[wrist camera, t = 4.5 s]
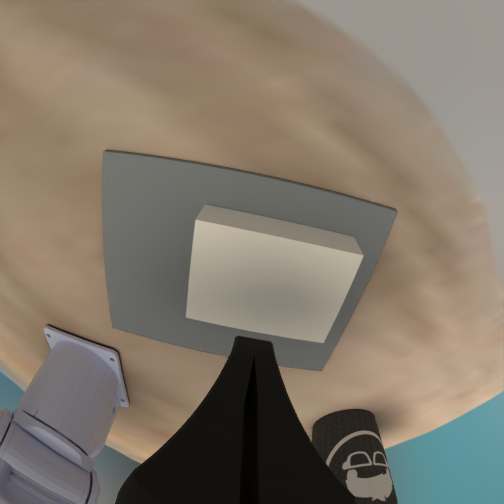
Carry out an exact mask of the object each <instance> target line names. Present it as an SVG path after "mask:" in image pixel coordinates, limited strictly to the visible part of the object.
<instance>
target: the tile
mask: <svg viewBox="0 0 504 504" xmlns="http://www.w3.org/2000/svg"><path fill="white" fill-rule="evenodd" d="M363 256H364V255H363V253H362V251H361V249H360V247H359V245H358V243H357V241H356V239H355V237H352V236H348V235H344V234H340V233H336V232H332V231H327V230H323V229H319V228H314V227H310V226H306V225H301V224H297V223H292V222H288V221H283V220H279V219H274V218H269V217H265V216H260V215H255V214H250V213H246V212H241V211H236V210H231V209H226V208H221V207H216V206H211V205H206V204H205V205H204V207H203V208H202V210H201V211H200V213H199V215H198V216H197V218H196V220H195V228H194V236H193V245H192V254H191V264H190V274H189V285H188V296H187V308H186V318H190V319H195V320H199V321H204V322H208V323H213V324H217V325H222V326H227V327H232V328H237V329H242V330H247V331H252V332H258V333H263V334H269V335H275V336H280V337H286V338H293V339H299V340H305V341H312V342H319V343H324V341H325V339H326V337H327V335H328V333H329V331H330V329H331V327H332V325H333V323H334V321H335V319H336V317H337V315H338V313H339V310H340V308H341V306H342V304H343V302H344V300H345V297H346V295H347V293H348V291H349V289H350V286H351V284H352V282H353V280H354V277H355V275H356V273H357V270H358V268H359V266H360V263H361V261H362V258H363Z"/></svg>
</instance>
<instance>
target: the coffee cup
mask: <svg viewBox="0 0 504 504" xmlns="http://www.w3.org/2000/svg"><path fill="white" fill-rule="evenodd" d="M312 444H313V445H314V447H315V448H316V450H317V451H318V452H319V454H320V455H321V457H322V458H323V460H324V461H325V462H326V464H327V465H328V467H329V468H330V469H331V470H332V472H333V473H334V474H335V475H336V476H337V478H338V479H339V480H340V481H341V482H342V483H343V484H344V486H345V487H346V488H347V489H348V490H349V491H350V492H351V493H352V494H353V495H354V496H355V497H356V501H357V504H398V501H397V497H396V494H395V489H394V485H393V481H392V477H391V474H390V470H389V466H388V463H387V459H386V455H385V451H384V448H383V444H382V441H381V437H380V434H379V430H378V427H377V424H376V420H375V417H374V415H373V414H372V413H371V412H369V411H366V410H359V409H352V410H344V411H339V412H335V413H332V414H329V415H327V416H325V417H323V418H321V419H319V420H318V421H317V422H316V423H315V424H314V426H313V432H312Z"/></svg>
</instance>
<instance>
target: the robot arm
mask: <svg viewBox="0 0 504 504" xmlns="http://www.w3.org/2000/svg"><path fill="white" fill-rule="evenodd" d="M44 332H45V335H46V338H47V341H48V343H49V346H50V348H51V352H50V353H49V355H48V356H47V358H46V359H45V361H44V362H43V364H42V366H41V367H40V369H39V370H38V372H37V374H36V375H35V377H34V378H33V380H32V382H31V383H30V385H29V387H28V388H27V390H26V392H25V394H24V395H23V397H22V399H21V400H20V402H19V404H18V406H17V407H16V409H15V410H14V411H12V412H11V411H10V410H8V409H7V408H5V409H0V504H97V503H98V500H99V495H100V483H99V480H98V475H97V473H96V471H95V470H94V469H93V465H94V462H95V461H94V460H92V459H91V458H92V457H94V456H96V455H97V454H98V453H99V452H100V451H101V450H102V448H103V446H104V444H105V441H106V439H107V436H108V433H109V431H110V428H111V426H112V423H113V421H114V418H115V415H116V413H117V410H118V408H119V406H122V407H126V408H127V407H129V401H128V397H127V393H126V389H125V384H124V380H123V375H122V371H121V366H120V361H119V356H118V353H117V352H116V351H115V350H112V349H109V348H106V347H103V346H100V345H97V344H95V343H92V342H89V341H86V340H83V339H81V338H78V337H75V336H73V335H70V334H67V333H65V332H62V331H60V330H57V329H55V328H52V327H50V326H47V325H46V326H45V327H44ZM115 504H357V501H356V497H355V496H354V495H353V494H352V493H351V492H350V491H349V490H348V489H347V488H346V487H345V486H344V484H343V483H342V482H341V481H340V480H339V479H338V478H337V476H336V475H335V474H334V473H333V472H332V470H331V469H330V468H329V467H328V465H327V464H326V462H325V461H324V460H323V458H322V457H321V455H320V454H319V452H318V451H317V450H316V448H315V447H314V445H313V444H312V442H311V440H310V439H309V437H308V435H307V434H306V432H305V430H304V428H303V426H302V424H301V422H300V421H299V419H298V416H297V414H296V412H295V410H294V408H293V406H292V403H291V401H290V399H289V396H288V394H287V391H286V388H285V385H284V383H283V380H282V377H281V374H280V371H279V367H278V364H277V360H276V356H275V352H274V347H273V343H272V342H271V341H265V340H260V339H254V338H249V337H244V336H236V337H235V340H234V344H233V348H232V350H231V353H230V355H229V357H228V360H227V362H226V364H225V366H224V368H223V369H222V371H221V373H220V375H219V377H218V378H217V380H216V382H215V383H214V385H213V386H212V388H211V389H210V391H209V392H208V394H207V396H206V397H205V398H204V400H203V401H202V402H201V404H200V405H199V406H198V408H197V409H196V410H195V412H194V413H193V414H192V415H191V417H190V418H189V419H188V420H187V421H186V422H185V423H184V425H183V426H182V427H181V428H180V429H179V430H178V431H177V432H176V433H175V434H174V435H173V436H172V437H171V438H170V439H169V440H168V441H167V442H166V443H165V444H164V445H163V446H162V447H161V448H160V449H159V450H158V451H157V452H155V453H154V454H153V455H152V456H151V457H150V458H148V459H147V460H146V461H145V462H143V463H142V464H141V465H140V466H138V467H137V468H136V469H135V470H133V472H132V473H131V474H130V476H129V477H128V478H127V480H126V481H125V482H124V484H123V485H122V487H121V489H120V491H119V493H118V496H117V499H116V503H115Z"/></svg>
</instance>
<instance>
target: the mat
mask: <svg viewBox="0 0 504 504" xmlns="http://www.w3.org/2000/svg"><path fill="white" fill-rule="evenodd" d="M205 204H206V205H211V206H216V207H221V208H226V209H231V210H236V211H241V212H246V213H250V214H255V215H260V216H265V217H269V218H274V219H279V220H283V221H288V222H292V223H297V224H301V225H306V226H310V227H314V228H319V229H323V230H327V231H332V232H336V233H340V234H344V235H348V236H352V237H355V239H356V241H357V243H358V245H359V247H360V249H361V251H362V253H363V255H364V256H363V258H362V261H361V263H360V266H359V268H358V270H357V273H356V275H355V277H354V280H353V282H352V284H351V286H350V289H349V291H348V293H347V295H346V297H345V300H344V302H343V304H342V306H341V308H340V310H339V313H338V315H337V317H336V319H335V321H334V323H333V325H332V327H331V329H330V331H329V333H328V335H327V337H326V339H325V341H324V343H319V342H312V341H305V340H299V339H293V338H286V337H280V336H275V335H269V334H263V333H258V332H252V331H247V330H242V329H237V328H232V327H227V326H222V325H217V324H213V323H208V322H204V321H199V320H195V319H190V318H186V308H187V296H188V285H189V274H190V264H191V254H192V245H193V236H194V228H195V220H196V218H197V216H198V215H199V213H200V211H201V210H202V208H203V207H204V205H205ZM396 215H397V210H396V209H394V208H390V207H387V206H384V205H380V204H377V203H374V202H370V201H367V200H363V199H360V198H356V197H352V196H349V195H345V194H341V193H338V192H334V191H330V190H326V189H322V188H318V187H314V186H310V185H306V184H302V183H298V182H293V181H289V180H285V179H280V178H276V177H271V176H266V175H262V174H257V173H252V172H247V171H242V170H237V169H232V168H227V167H221V166H216V165H210V164H205V163H199V162H193V161H187V160H181V159H174V158H167V157H161V156H153V155H146V154H138V153H130V152H122V151H113V150H105V151H103V168H102V219H103V242H104V257H105V270H106V280H107V289H108V298H109V306H110V313H111V320H112V326H113V328H116V329H119V330H122V331H125V332H129V333H132V334H136V335H139V336H143V337H146V338H150V339H154V340H158V341H161V342H165V343H169V344H173V345H177V346H181V347H185V348H190V349H194V350H198V351H203V352H207V353H212V354H217V355H222V356H227V357H229V355H230V353H231V350H232V348H233V344H234V340H235V337H236V336H244V337H249V338H254V339H260V340H265V341H271V342H272V343H273V347H274V352H275V356H276V360H277V364H278V366H284V367H291V368H299V369H306V370H315V371H322V370H323V368H324V366H325V364H326V363H327V361H328V359H329V357H330V356H331V354H332V352H333V350H334V348H335V347H336V345H337V343H338V341H339V339H340V337H341V336H342V334H343V332H344V330H345V328H346V326H347V324H348V322H349V320H350V318H351V316H352V314H353V312H354V310H355V308H356V306H357V304H358V302H359V300H360V298H361V296H362V294H363V292H364V290H365V288H366V286H367V283H368V281H369V279H370V277H371V275H372V272H373V270H374V268H375V266H376V263H377V261H378V259H379V257H380V254H381V252H382V250H383V247H384V245H385V242H386V240H387V238H388V235H389V233H390V230H391V228H392V225H393V222H394V220H395V217H396Z"/></svg>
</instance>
